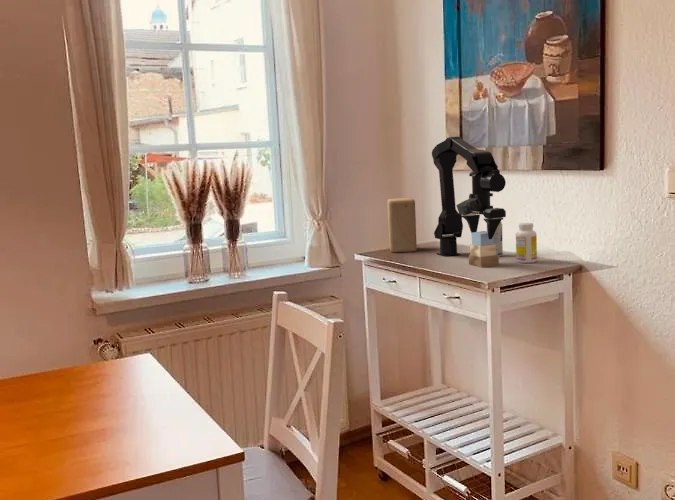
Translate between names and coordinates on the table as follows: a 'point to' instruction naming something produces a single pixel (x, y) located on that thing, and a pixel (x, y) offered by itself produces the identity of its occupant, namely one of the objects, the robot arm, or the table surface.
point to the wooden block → (402, 225)
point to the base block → (484, 260)
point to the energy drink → (498, 240)
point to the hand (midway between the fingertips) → (482, 237)
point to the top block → (481, 239)
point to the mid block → (483, 250)
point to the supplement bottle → (526, 244)
